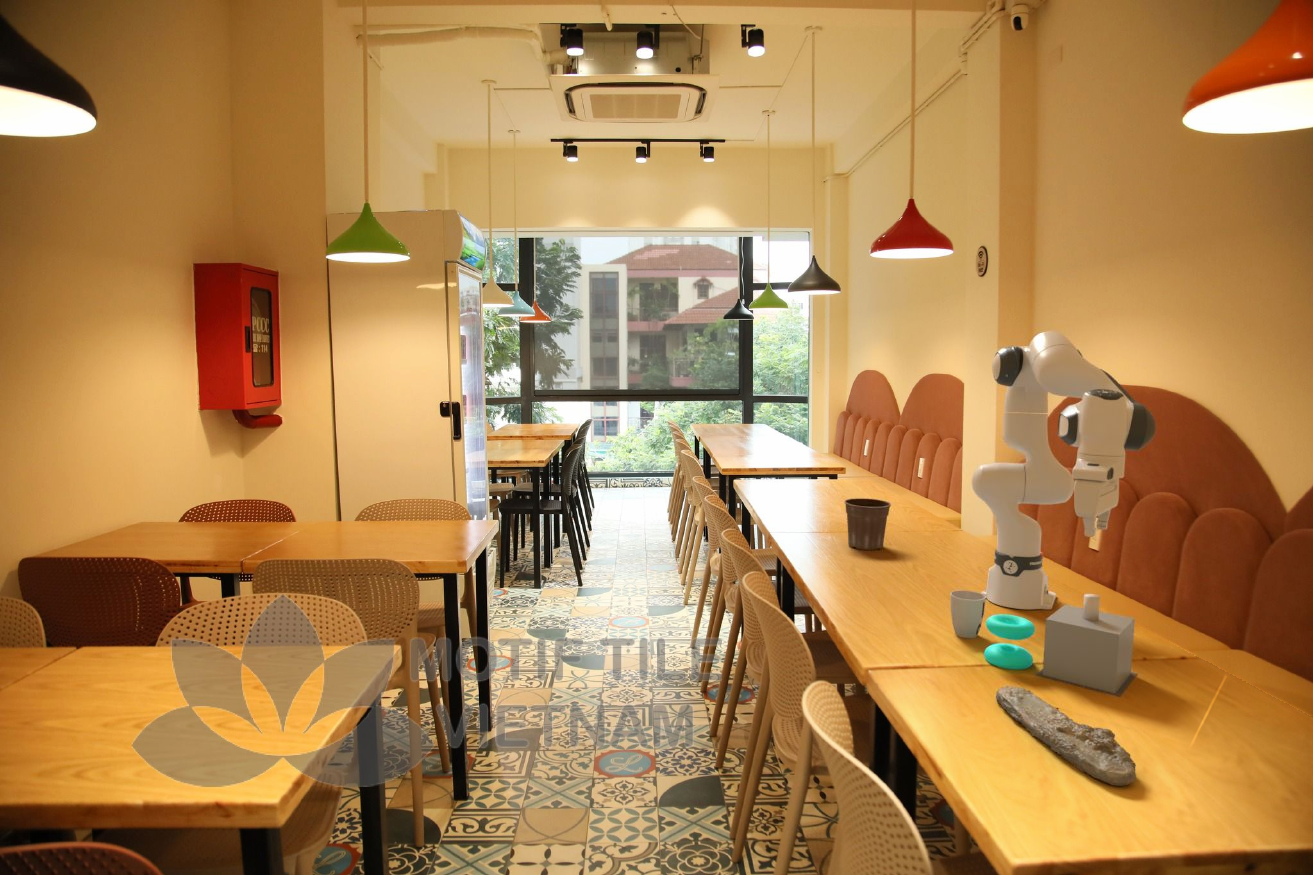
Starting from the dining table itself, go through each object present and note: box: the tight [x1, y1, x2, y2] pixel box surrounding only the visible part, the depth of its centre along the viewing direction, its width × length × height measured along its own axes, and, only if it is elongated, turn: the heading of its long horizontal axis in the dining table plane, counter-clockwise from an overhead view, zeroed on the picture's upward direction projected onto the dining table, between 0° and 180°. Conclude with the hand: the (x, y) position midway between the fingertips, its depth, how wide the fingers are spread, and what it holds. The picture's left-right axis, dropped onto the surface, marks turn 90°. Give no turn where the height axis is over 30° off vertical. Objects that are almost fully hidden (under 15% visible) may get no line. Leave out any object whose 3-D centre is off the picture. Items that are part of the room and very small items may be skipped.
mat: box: [1035, 668, 1139, 698], centre depth 172 cm, size 16×16×1 cm
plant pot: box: [844, 497, 892, 551], centre depth 288 cm, size 16×16×16 cm
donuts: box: [983, 613, 1036, 670], centre depth 179 cm, size 10×10×10 cm
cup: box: [949, 589, 987, 639], centre depth 197 cm, size 8×8×10 cm
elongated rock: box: [995, 685, 1137, 786], centre depth 144 cm, size 35×5×10 cm
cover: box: [1042, 593, 1136, 693], centre depth 171 cm, size 14×14×17 cm
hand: (1095, 532), depth 169 cm, fingers open, 8 cm apart
